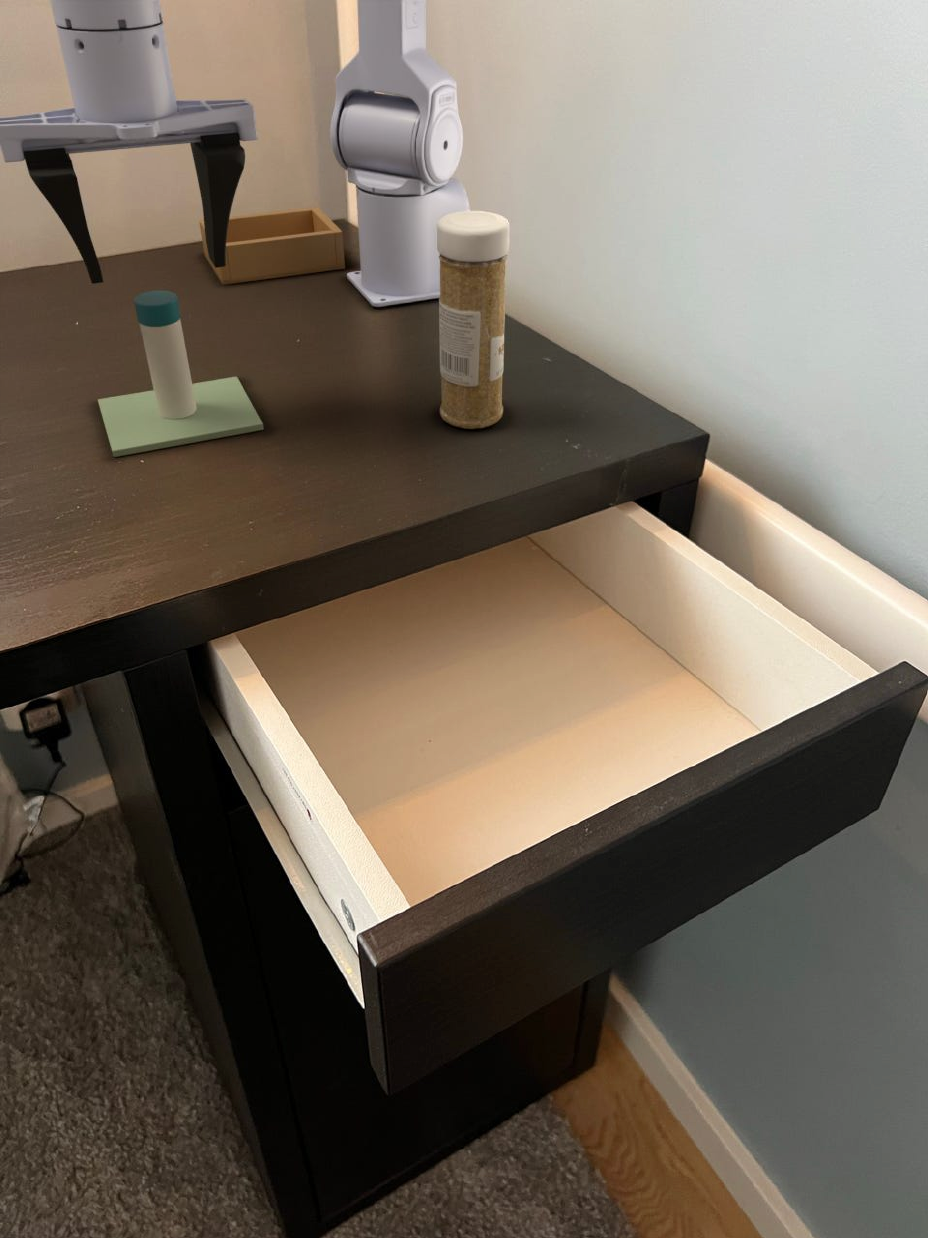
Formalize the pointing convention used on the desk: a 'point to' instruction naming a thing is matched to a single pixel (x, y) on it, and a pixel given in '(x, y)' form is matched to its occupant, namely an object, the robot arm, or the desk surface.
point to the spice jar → (472, 316)
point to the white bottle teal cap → (166, 353)
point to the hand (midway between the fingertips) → (157, 269)
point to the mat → (145, 430)
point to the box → (279, 245)
